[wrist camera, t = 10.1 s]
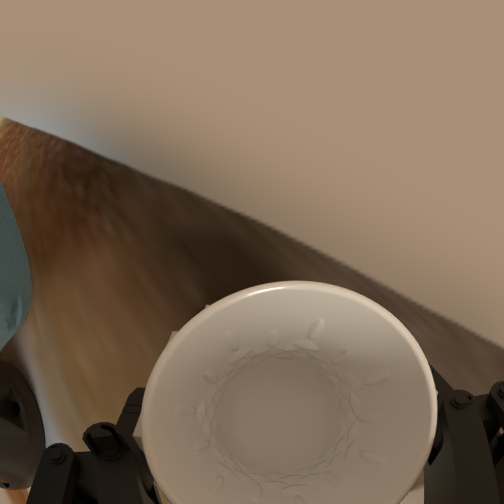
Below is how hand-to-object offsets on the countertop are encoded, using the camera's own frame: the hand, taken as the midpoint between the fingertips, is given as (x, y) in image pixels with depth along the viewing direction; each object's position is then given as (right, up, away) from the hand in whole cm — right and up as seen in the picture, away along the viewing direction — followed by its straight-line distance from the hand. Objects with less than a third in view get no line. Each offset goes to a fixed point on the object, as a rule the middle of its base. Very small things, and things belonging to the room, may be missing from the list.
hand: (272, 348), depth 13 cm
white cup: (0, -5, +1) cm, 5 cm away
